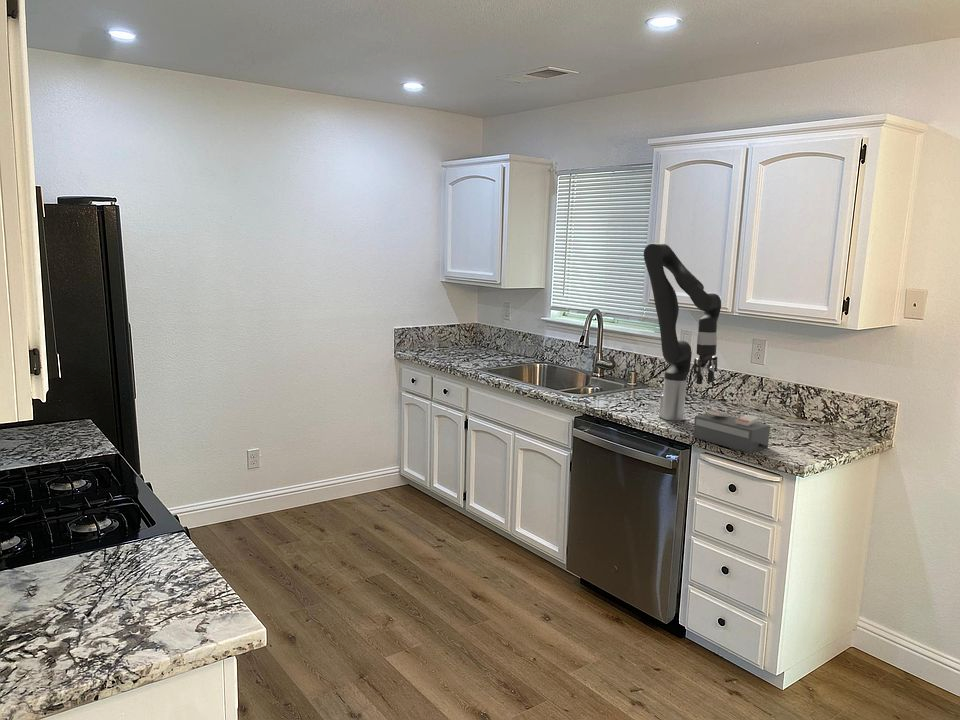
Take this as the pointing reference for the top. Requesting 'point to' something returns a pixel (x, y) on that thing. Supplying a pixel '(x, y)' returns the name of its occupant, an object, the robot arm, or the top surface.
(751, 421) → the right rocker
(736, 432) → the switch box
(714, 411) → the left rocker
